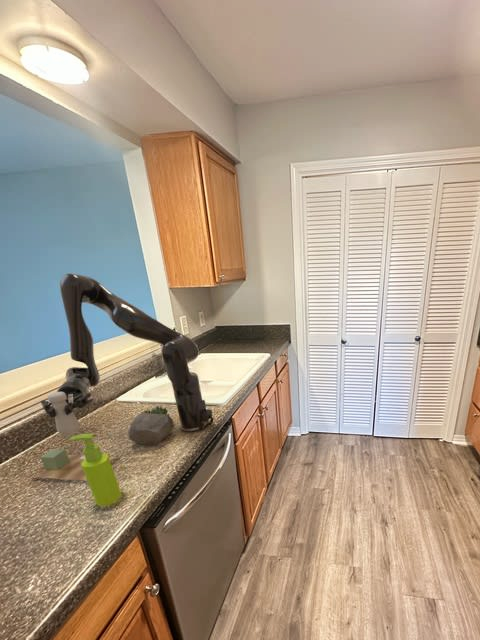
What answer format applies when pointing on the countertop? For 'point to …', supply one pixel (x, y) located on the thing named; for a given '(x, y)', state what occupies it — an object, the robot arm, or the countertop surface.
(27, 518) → the countertop surface
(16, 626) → the countertop surface
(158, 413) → the potted plant
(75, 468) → the wood board
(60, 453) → the sage green cube
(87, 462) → the soap dispenser
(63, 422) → the salt shaker
